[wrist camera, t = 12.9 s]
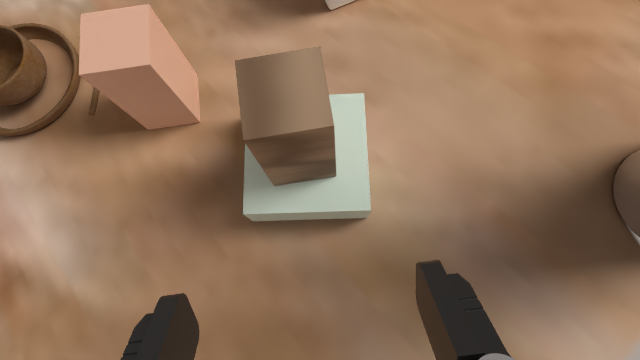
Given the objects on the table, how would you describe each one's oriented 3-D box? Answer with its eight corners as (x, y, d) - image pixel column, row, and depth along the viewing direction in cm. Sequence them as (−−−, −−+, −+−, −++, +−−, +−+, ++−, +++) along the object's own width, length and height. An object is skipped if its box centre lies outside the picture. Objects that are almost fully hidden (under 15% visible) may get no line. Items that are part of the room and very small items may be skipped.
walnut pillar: (326, 119, 32) (320, 46, 22) (336, 176, 30) (334, 125, 21) (267, 128, 32) (234, 60, 22) (274, 186, 30) (243, 140, 21)
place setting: (-73, 135, 38) (-146, 109, 32) (-13, -32, 43) (-68, -80, 37) (97, 145, 36) (52, 120, 31) (137, -28, 41) (106, -77, 36)
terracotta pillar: (197, 75, 37) (148, 4, 28) (200, 122, 36) (149, 64, 26) (147, 82, 37) (80, 14, 28) (148, 129, 36) (78, 74, 26)
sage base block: (361, 113, 36) (363, 93, 32) (367, 218, 33) (370, 210, 29) (256, 117, 36) (246, 98, 32) (253, 221, 34) (242, 214, 30)
